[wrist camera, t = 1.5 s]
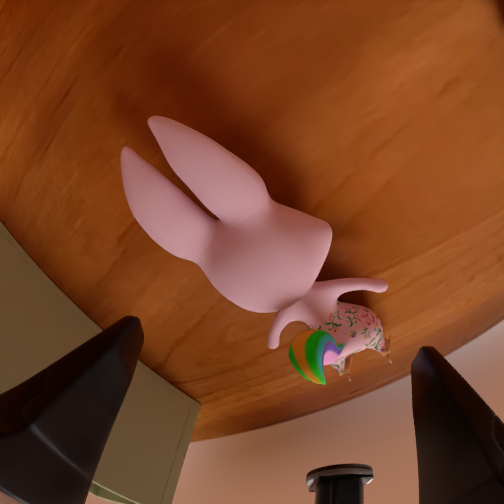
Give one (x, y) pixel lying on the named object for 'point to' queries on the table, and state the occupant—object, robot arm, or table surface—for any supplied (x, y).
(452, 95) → the table surface
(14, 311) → the bin
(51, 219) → the table surface
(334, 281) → the rabbit figure
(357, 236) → the table surface
